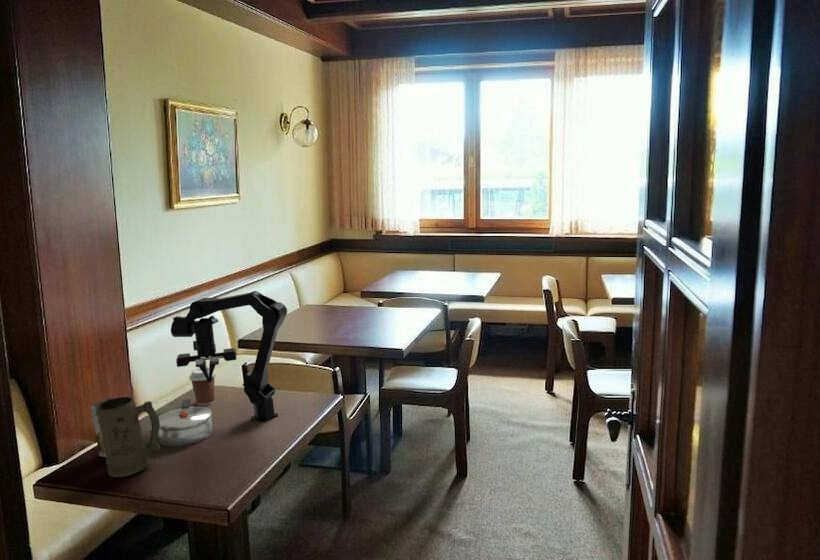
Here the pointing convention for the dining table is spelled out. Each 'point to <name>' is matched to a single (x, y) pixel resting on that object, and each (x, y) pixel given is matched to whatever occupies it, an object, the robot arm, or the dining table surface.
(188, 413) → the cooker lid
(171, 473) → the dining table surface
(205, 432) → the cooker pot
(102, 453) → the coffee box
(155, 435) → the beer stein
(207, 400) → the coffee cup
